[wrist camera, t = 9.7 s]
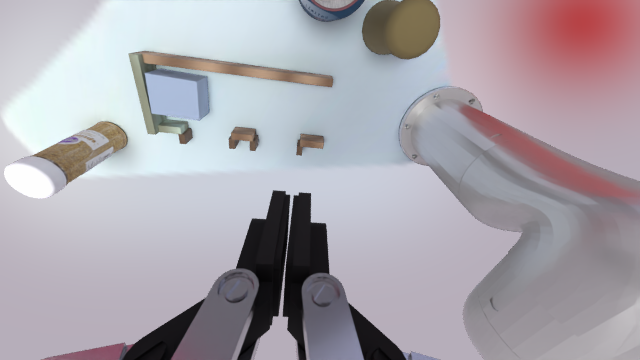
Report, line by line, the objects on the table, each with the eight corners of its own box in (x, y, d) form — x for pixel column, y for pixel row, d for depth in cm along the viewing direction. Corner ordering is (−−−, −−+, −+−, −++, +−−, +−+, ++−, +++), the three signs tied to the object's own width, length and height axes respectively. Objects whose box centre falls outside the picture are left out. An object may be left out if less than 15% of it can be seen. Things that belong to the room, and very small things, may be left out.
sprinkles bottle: (115, 117, 37) (28, 159, 25) (134, 145, 39) (63, 195, 27) (87, 124, 37) (-11, 169, 25) (108, 151, 39) (26, 203, 28)
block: (207, 76, 34) (196, 81, 31) (209, 111, 37) (199, 120, 33) (161, 68, 34) (144, 72, 30) (166, 105, 36) (151, 113, 33)
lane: (331, 76, 35) (334, 80, 32) (320, 150, 41) (321, 160, 38) (144, 50, 32) (128, 53, 29) (162, 134, 38) (150, 143, 35)
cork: (398, 59, 34) (432, 72, 25) (356, 48, 33) (375, 57, 24) (416, 7, 31) (463, -1, 22) (370, -7, 30) (399, -21, 21)
